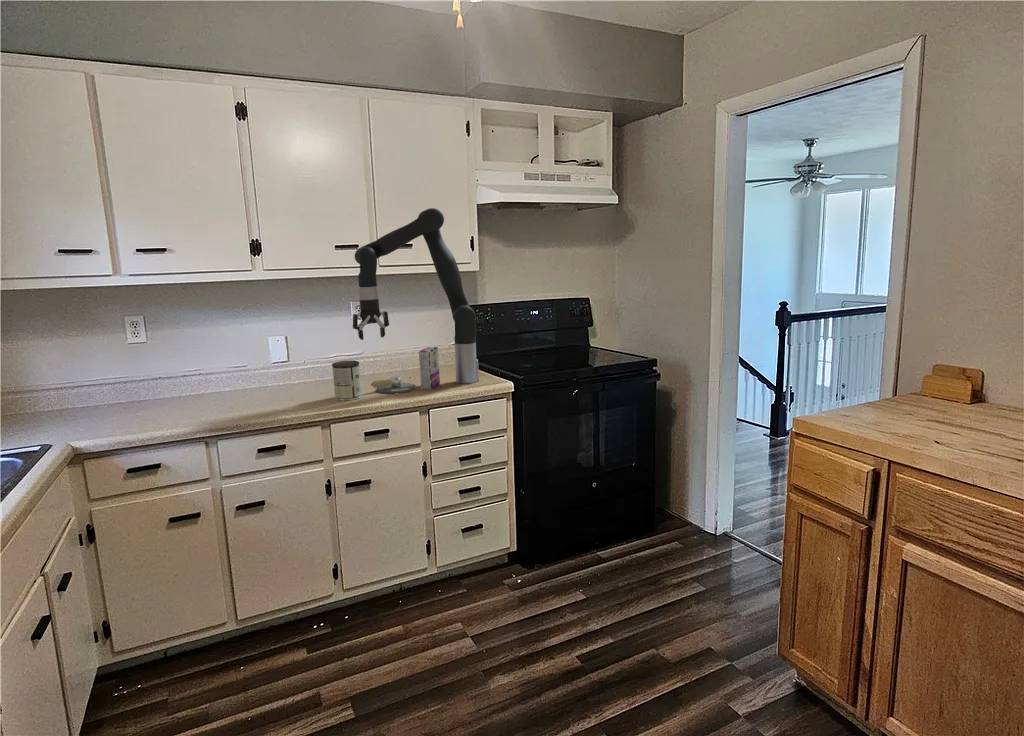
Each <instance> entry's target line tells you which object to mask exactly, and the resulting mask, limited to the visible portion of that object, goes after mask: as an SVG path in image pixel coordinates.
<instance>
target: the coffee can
mask: <svg viewBox="0 0 1024 736" xmlns="http://www.w3.org/2000/svg"><path fill="white" fill-rule="evenodd" d="M331 366H332V375H333V378H332V379H333V387H334V399H335V400H336V401H339V402H341V401H342V402H343V401H344V402H345V401H348V402H349V401H354V400H357V399H361V398H362V388H361V374H360V361H357V360H342V361H335V362H334V363H332V364H331Z"/></svg>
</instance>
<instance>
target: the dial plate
mask: <svg viewBox="0 0 1024 736" xmlns="http://www.w3.org/2000/svg"><path fill="white" fill-rule="evenodd" d="M414 389H415V390H416V384H414V383H410V382H401V387H397V388H393V387H391V386H384V387H376V391H377V393H379V392H380V394H384V393H387V394H388V395H396V394H395V393H399V394H405V392H406V393H410V392H413V391H414ZM412 390H413V391H412ZM409 391H410V392H409ZM387 394H386V395H387Z"/></svg>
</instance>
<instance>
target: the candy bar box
mask: <svg viewBox="0 0 1024 736" xmlns="http://www.w3.org/2000/svg"><path fill="white" fill-rule="evenodd" d="M418 356H419V357H418V358H419V360H418V361H419V372H420V386H421V390H424V389H427V390H428V391H429V390H434V389H435V388H436V387H437V386H439V385H440V384H441V378H440V376H441V375H440V362H439V361H440V360H439V347H438V346H426V347H425V348H423V349H421V350H419V351H418Z"/></svg>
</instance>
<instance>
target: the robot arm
mask: <svg viewBox="0 0 1024 736" xmlns="http://www.w3.org/2000/svg"><path fill="white" fill-rule="evenodd" d="M444 223H445V216H444V214H443V212H442V211H441V210H439V209H438V208H433V207H431V208H427V209H425V210H423V211H421V212H420V213H419V214H418V216H417V218H416V219H414V220H413V221H411V222H410V223H408V224H406V225H402V226H401V227H399V228H397V229H395V230H392V231H391V232H389V233H386V234H384V235H383V236H380V237H379V238H377V239H376V240H374V241H372V242H370V243H367V244H365V245H363V246H361V247H359V248H358V249H356V251H355V252H354V260H355V261H356V263H357V264H359V273H358V276H357V277H358V300H359V311H360V312H359V314H358V313H353V314H352V329H354V330H357V334H358V338H359V339H360V340H362V341H363V340H364V338H365V337H364V331H363V329H364V327H365V326H366V325H369V324H370V325H371V324H377V325H378V326H379V334H380V338H384V337H385V336H386V328H387V327H389V326H390V320H389V314H388V311H385V310H384V311H380V300H379V299H380V298H379V296H380V295H379V290H378V281H377V268H378V267H377V266H378V259H379V258H382V257H384V256H388V255H390V254H391V253H393V252H395V251H396V250H398V249H400V248H402V247H403V246H405V245H407V244H408V243H410V242H411V241H413V240H414V239H417V238H419V237H421V236H423V239H424V240H425V242H426V245H427V248H428V250H429V254H430V257H431V260H432V263H433V265H434V269H435V272H436V274H437V277H438V279H439V280H438V281H440V285H441V287H442V289H443V291H444V292H445V295H446V297H447V299H448V302H449V307H450V309H451V314H452V320H453V321H454V336H453V337H454V338H453V339H454V340H453V341H454V361H455V381H456V382H455V383H458V384H473V383H476V382H480V376H479V375H480V374H479V359H477V343H476V342H477V316H476V313H475V311H474V309H473V308H472V307H471V306H470V304H469V303H468V300H467V298H466V294H465V292H464V289H463V288H464V287H463V282H462V281H463V280H462V276H461V272H460V269H459V266H458V263H457V261H456V259H455V257H454V255H453V254H452V252H451V250H450V249H449V248H448V246H447V245H446V243H445V242H444V239H443V236H442V234H441V230H440V229H441V228H442V227H443V225H444ZM380 317H382V318H383V321H381V320H380ZM359 319H361V320H360V322H359V323H358V320H359Z"/></svg>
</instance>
